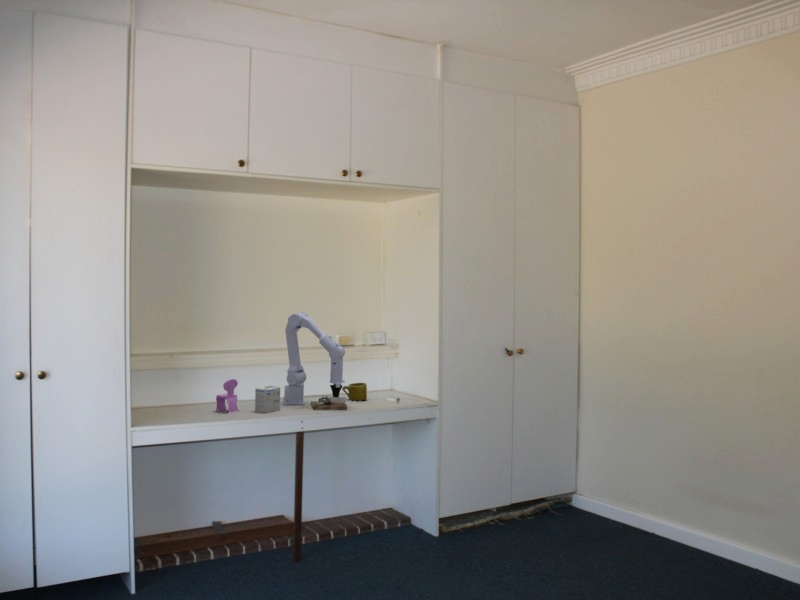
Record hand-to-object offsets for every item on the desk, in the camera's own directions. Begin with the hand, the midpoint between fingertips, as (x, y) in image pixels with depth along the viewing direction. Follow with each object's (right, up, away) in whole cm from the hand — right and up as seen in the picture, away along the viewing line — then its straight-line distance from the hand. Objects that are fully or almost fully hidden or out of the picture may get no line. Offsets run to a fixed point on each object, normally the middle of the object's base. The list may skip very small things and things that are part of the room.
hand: (335, 400), depth 361 cm
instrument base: (-3, -3, 0) cm, 5 cm away
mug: (+7, -3, +22) cm, 24 cm away
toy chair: (-48, -3, -18) cm, 51 cm away
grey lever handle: (-2, -2, -1) cm, 3 cm away
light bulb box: (-30, -3, -14) cm, 33 cm away
